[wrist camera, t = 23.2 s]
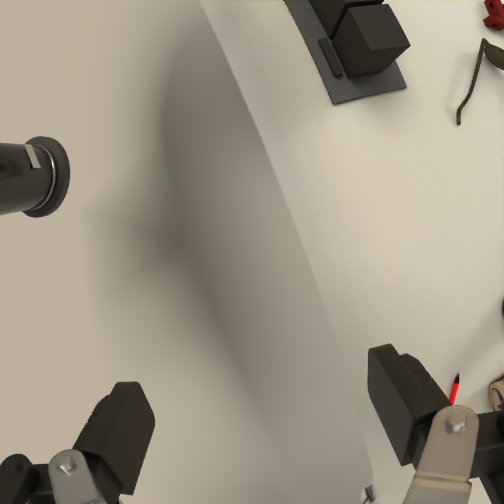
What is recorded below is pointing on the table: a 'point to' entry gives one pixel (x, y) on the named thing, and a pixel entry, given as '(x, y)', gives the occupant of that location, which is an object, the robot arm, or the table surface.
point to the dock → (320, 46)
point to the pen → (454, 389)
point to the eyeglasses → (494, 55)
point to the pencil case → (497, 395)
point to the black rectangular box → (369, 40)
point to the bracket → (494, 14)
